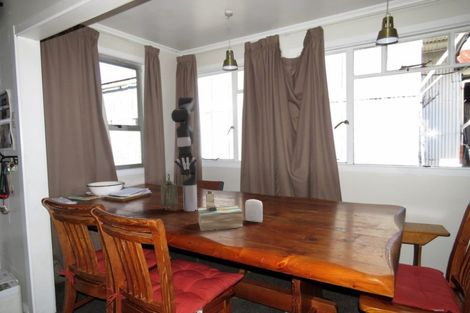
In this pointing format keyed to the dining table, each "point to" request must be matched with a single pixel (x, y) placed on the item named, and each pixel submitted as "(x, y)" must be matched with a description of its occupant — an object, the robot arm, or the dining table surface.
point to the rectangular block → (220, 217)
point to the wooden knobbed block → (209, 200)
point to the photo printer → (253, 210)
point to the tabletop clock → (169, 194)
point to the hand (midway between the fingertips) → (187, 175)
